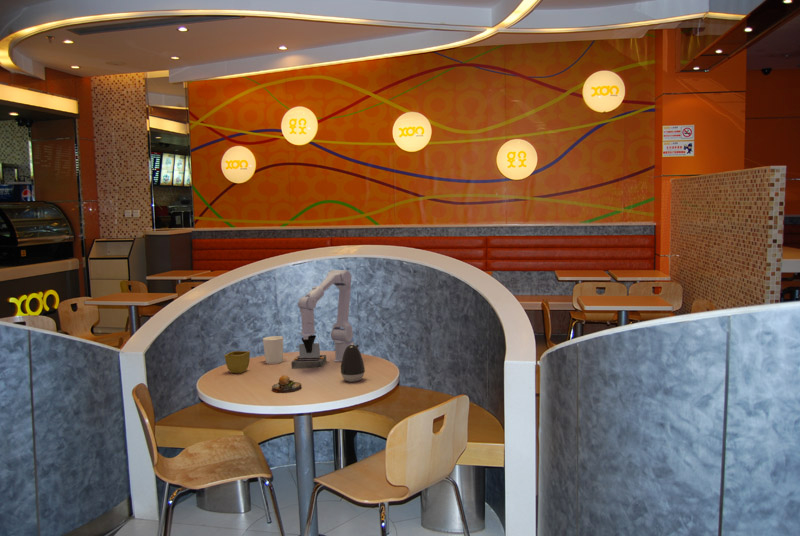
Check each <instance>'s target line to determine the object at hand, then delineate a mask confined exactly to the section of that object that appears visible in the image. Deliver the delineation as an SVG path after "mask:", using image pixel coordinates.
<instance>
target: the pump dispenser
mask: <svg viewBox="0 0 800 536" xmlns="http://www.w3.org/2000/svg"><path fill="white" fill-rule="evenodd" d="M359 347H360V345H359V344H356V345H355V344H354V345H349V346H347V348H346V349H345V351H344V354H343V357H342V361H341V363H340V374H341V376H342V378H343V379H344V381H346V382H350V383H357V382H359V381H361V380H362V379H363V377H364V375H365V372H366V369H365V368H366V367H365V363H364V359H363V356H362V354H361V351H360V349H359Z"/></svg>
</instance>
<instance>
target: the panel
mask: <svg viewBox="0 0 800 536" xmlns="http://www.w3.org/2000/svg"><path fill="white" fill-rule="evenodd" d="M298 351H299V356H300V358H304V357H320V355H321V349H320V342H319V343H318V342H316V343H315V342H314V343H313V344H312V352H311V353H307V352H306V349H305V345H304V343H299V344H298Z"/></svg>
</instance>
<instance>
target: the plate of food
mask: <svg viewBox="0 0 800 536" xmlns="http://www.w3.org/2000/svg"><path fill="white" fill-rule="evenodd" d="M301 389H302V383H300V382H297V381H294V380H291V378H290V376H288V375H286V374H285V375H281V376H280V377H279V379H278V382H277V383H276V384H273V385H272V386H271V391H272V392H274V393H276V394H287V393H294V392H297V391H300V390H301Z"/></svg>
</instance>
